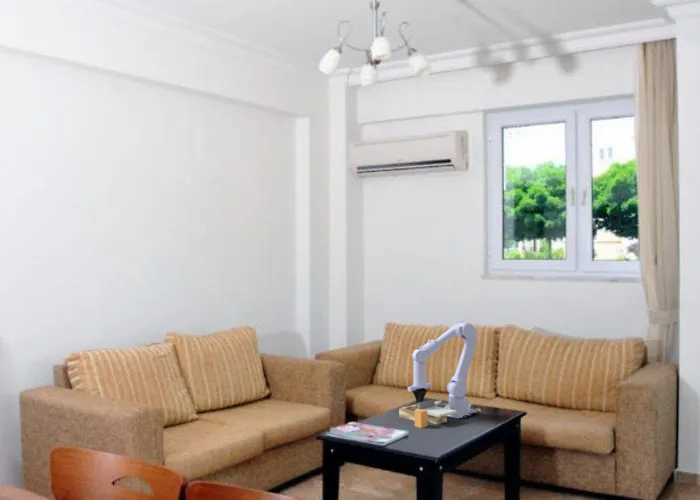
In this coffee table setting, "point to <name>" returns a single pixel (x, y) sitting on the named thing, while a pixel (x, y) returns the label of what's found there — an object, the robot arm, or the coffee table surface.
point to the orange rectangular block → (421, 418)
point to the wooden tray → (410, 414)
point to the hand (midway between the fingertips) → (419, 404)
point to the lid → (434, 409)
